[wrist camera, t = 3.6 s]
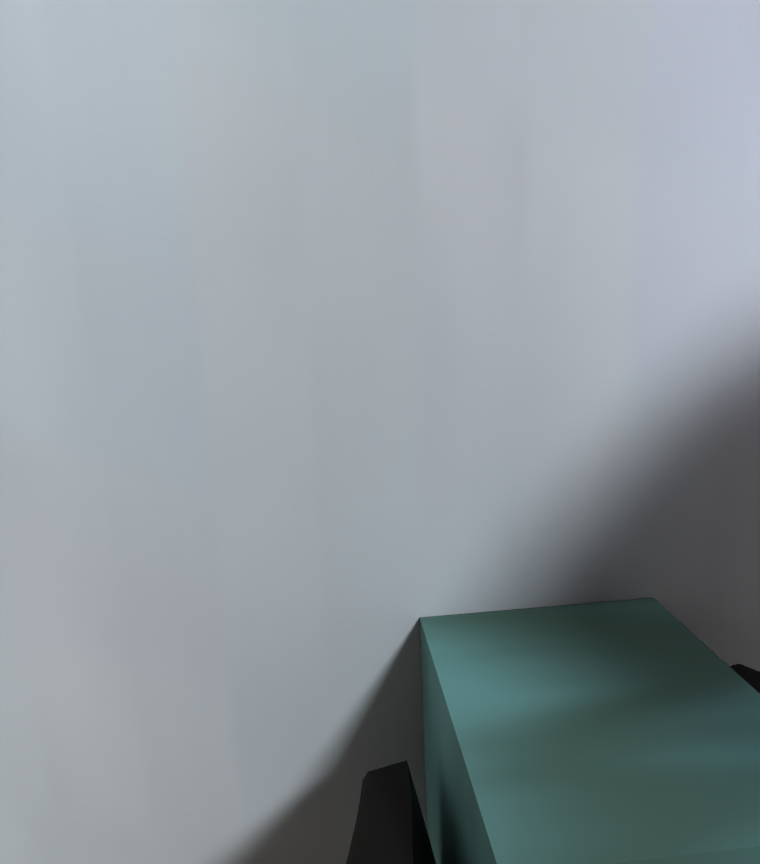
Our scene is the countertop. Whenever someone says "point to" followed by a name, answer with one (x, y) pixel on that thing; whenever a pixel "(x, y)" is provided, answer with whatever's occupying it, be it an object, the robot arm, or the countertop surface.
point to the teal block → (586, 739)
